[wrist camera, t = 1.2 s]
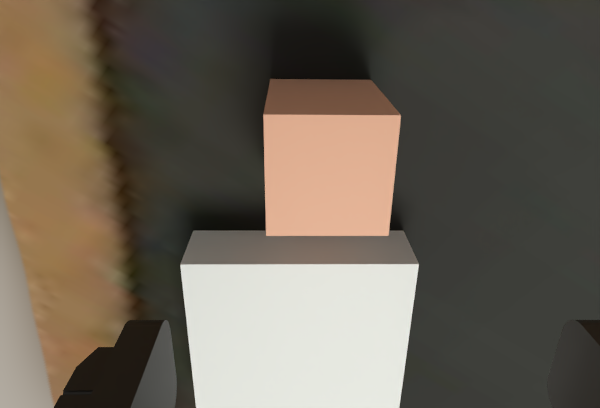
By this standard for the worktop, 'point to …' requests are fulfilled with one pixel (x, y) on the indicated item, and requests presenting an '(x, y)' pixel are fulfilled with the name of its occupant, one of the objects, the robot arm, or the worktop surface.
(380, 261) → the white block
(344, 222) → the terracotta block
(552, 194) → the worktop surface
